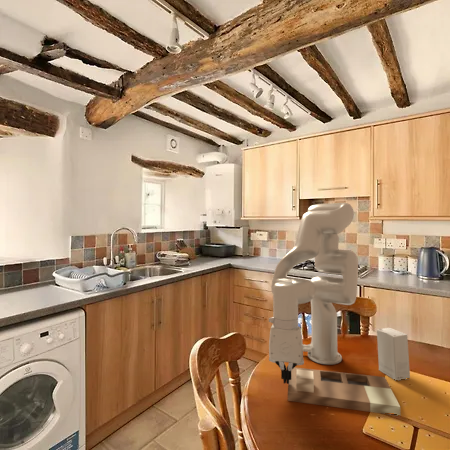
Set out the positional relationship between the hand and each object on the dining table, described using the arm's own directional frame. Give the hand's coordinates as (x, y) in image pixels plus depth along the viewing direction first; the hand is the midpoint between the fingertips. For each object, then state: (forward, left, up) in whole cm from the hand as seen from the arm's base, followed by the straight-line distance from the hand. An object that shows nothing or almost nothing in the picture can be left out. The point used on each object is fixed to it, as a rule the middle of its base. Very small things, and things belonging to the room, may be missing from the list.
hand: (286, 381), depth 93 cm
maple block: (+6, 0, -1) cm, 6 cm away
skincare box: (+35, +20, -4) cm, 41 cm away
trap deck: (+16, +4, -4) cm, 16 cm away
